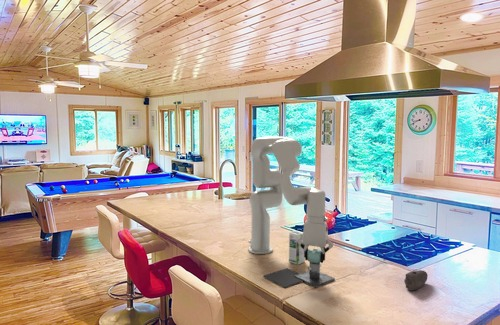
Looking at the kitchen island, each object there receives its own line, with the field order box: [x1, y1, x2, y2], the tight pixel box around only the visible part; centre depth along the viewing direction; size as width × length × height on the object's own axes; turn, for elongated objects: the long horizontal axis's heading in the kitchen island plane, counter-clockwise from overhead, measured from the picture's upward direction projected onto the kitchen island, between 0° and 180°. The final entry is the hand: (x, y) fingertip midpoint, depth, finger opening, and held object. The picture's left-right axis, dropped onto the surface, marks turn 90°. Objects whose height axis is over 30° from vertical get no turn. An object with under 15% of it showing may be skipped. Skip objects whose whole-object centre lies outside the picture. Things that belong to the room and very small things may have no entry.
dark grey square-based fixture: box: [294, 262, 336, 288], centre depth 158 cm, size 12×12×8 cm
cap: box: [307, 246, 322, 263], centre depth 158 cm, size 6×6×5 cm
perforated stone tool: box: [403, 269, 428, 292], centre depth 151 cm, size 15×5×7 cm, turn 126°
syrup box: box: [288, 230, 306, 266], centre depth 178 cm, size 6×6×14 cm
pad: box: [262, 267, 304, 289], centre depth 160 cm, size 14×14×1 cm
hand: (314, 260), depth 158 cm, fingers closed on cap, 6 cm apart
